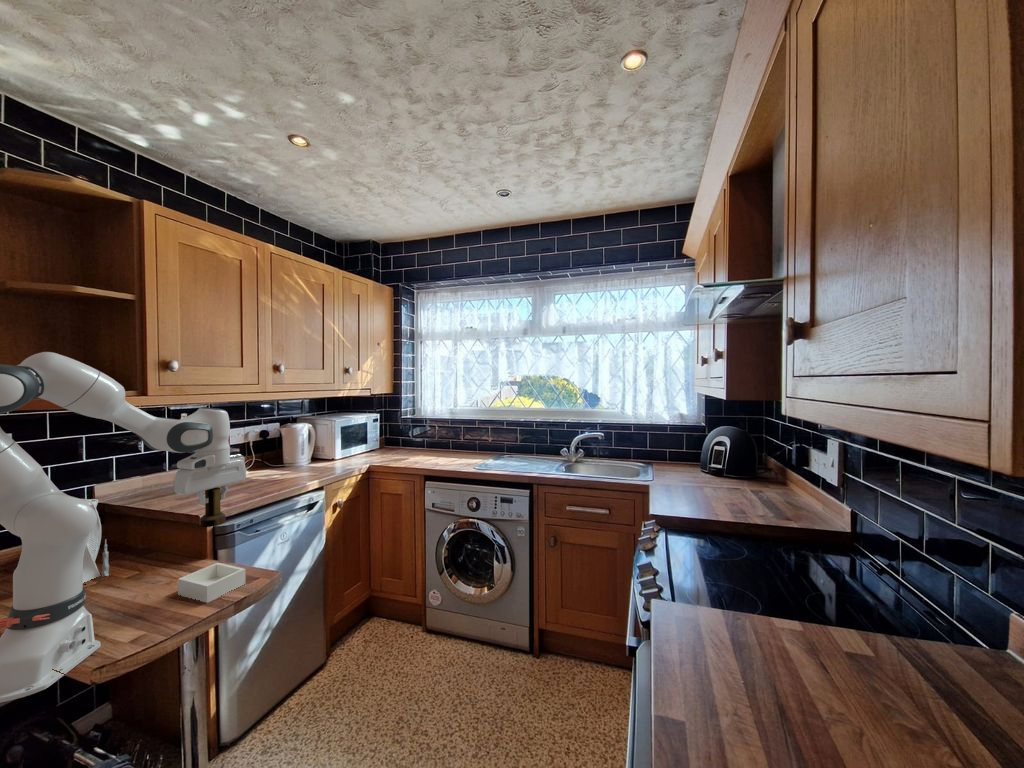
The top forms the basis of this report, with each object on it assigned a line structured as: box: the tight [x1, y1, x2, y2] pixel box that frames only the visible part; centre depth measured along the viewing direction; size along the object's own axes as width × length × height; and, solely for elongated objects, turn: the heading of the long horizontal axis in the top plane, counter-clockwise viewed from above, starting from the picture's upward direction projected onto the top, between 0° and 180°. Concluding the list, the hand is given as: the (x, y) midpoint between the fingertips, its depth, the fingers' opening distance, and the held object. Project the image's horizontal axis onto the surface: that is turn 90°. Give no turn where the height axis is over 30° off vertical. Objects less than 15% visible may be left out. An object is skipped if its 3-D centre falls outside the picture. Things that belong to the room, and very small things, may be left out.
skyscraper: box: [81, 498, 111, 583], centre depth 134 cm, size 8×8×28 cm
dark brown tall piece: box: [199, 487, 226, 528], centre depth 129 cm, size 7×6×18 cm
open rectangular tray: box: [177, 562, 246, 604], centre depth 129 cm, size 12×13×5 cm
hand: (212, 501), depth 129 cm, fingers closed on dark brown tall piece, 4 cm apart
